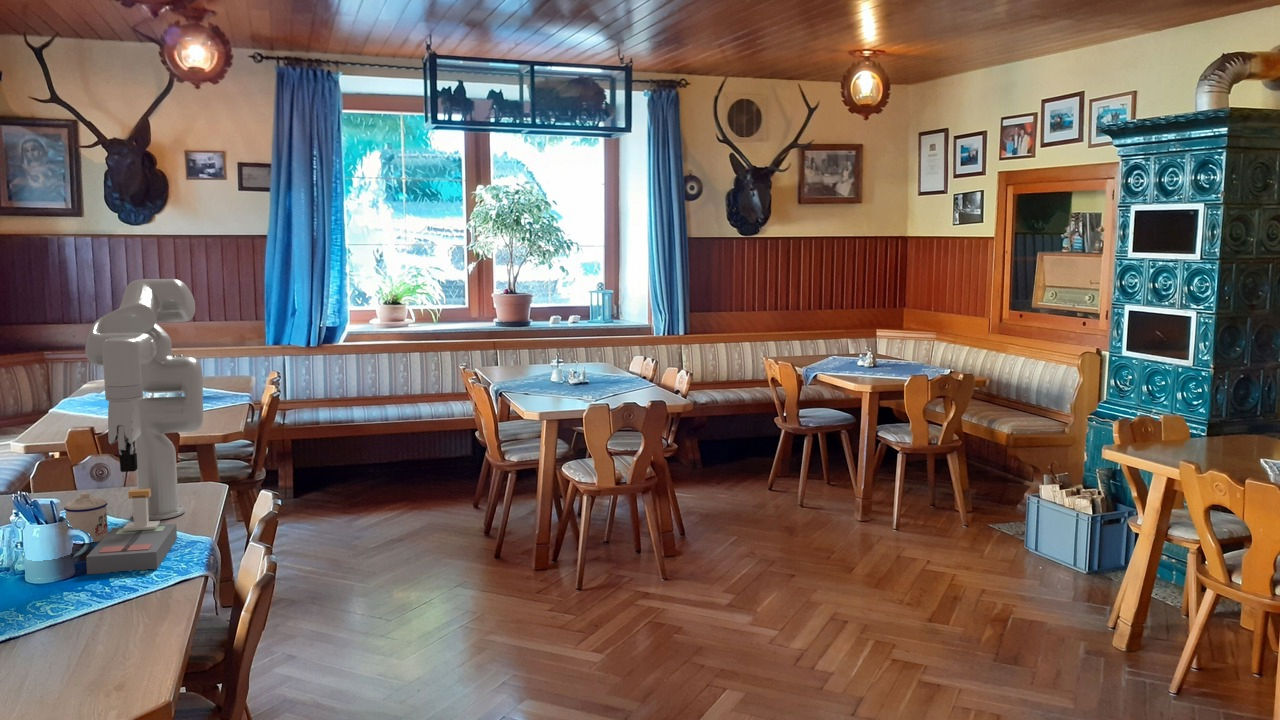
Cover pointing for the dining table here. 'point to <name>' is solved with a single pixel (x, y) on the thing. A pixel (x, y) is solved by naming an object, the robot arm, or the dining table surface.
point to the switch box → (131, 549)
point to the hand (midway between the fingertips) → (129, 470)
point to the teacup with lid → (88, 515)
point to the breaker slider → (140, 511)
